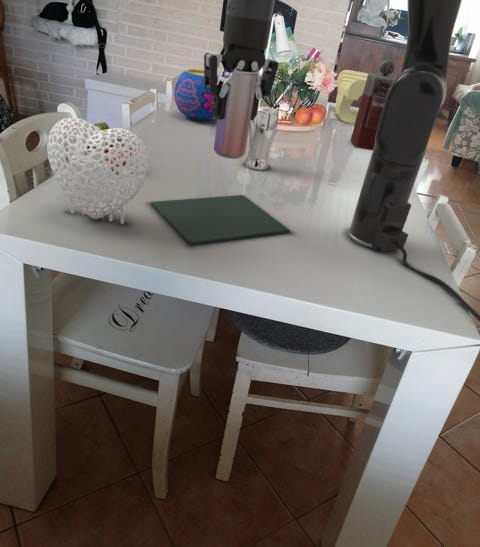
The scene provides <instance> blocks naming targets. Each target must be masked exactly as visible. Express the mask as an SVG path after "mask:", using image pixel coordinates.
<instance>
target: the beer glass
mask: <svg viewBox="0 0 480 547" xmlns="http://www.w3.org/2000/svg"><path fill="white" fill-rule="evenodd" d="M279 114H280V111H279V110H278V109H276V108H273V107H270V106H269V107H268V106H263V105H258V111H257V115H256V117H255V118H254V120H250V127H249V133H248V142H249V144H248V148H249V149H248V154H247V158H246V160H245V167H247V168H249V169H251V170H257V171H264V170H268V167H269V166H268V164H269V163H268V162H269V154H270V149H271V147H272V145H273V142H274V139H275V137H276V133H277V129H278V122H279Z"/></svg>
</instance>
